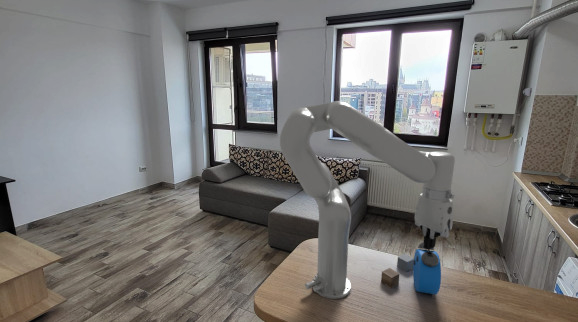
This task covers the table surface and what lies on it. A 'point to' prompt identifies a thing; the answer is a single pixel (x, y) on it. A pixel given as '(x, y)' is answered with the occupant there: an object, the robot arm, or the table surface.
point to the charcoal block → (405, 262)
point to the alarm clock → (426, 270)
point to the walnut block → (390, 277)
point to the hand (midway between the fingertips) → (428, 247)
